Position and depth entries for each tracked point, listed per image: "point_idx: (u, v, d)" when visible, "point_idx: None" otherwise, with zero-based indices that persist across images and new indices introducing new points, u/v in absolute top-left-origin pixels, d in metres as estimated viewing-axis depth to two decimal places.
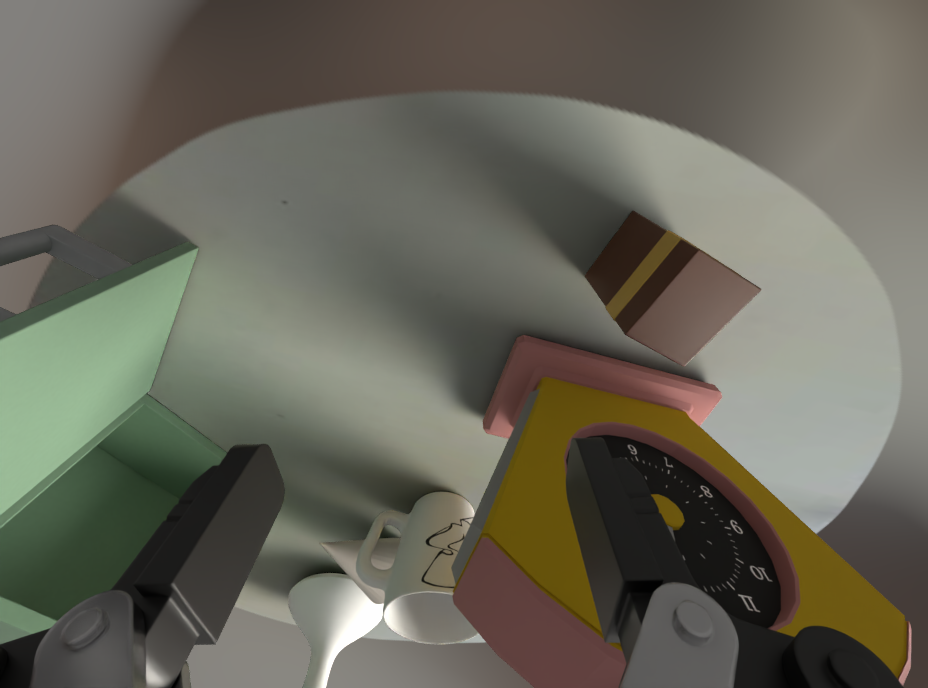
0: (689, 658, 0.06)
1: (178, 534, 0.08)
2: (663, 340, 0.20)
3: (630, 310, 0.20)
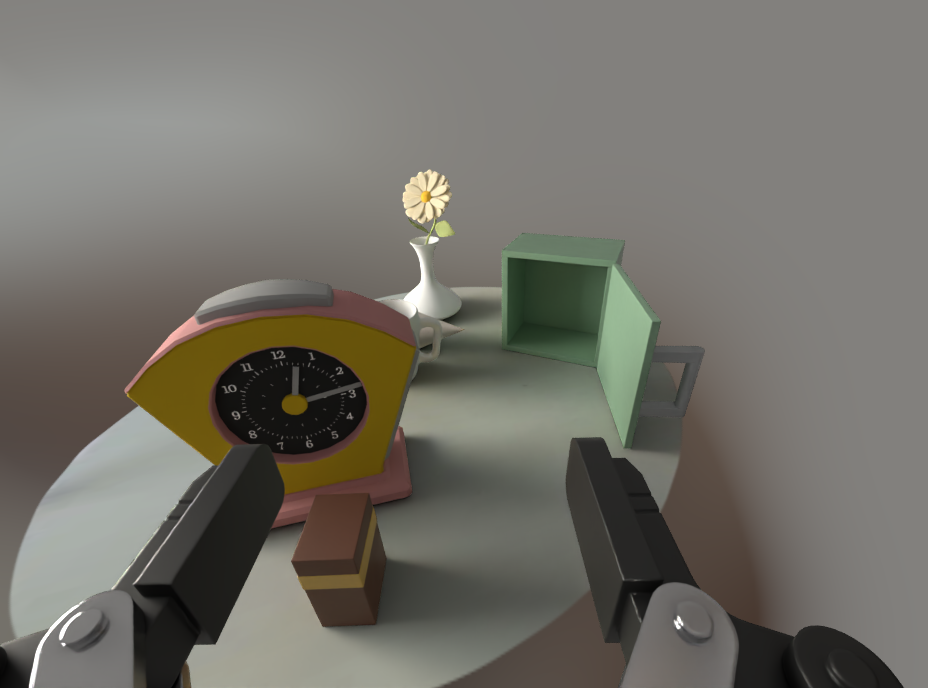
0: (689, 658, 0.06)
1: (178, 534, 0.08)
2: (341, 501, 0.28)
3: (369, 512, 0.28)
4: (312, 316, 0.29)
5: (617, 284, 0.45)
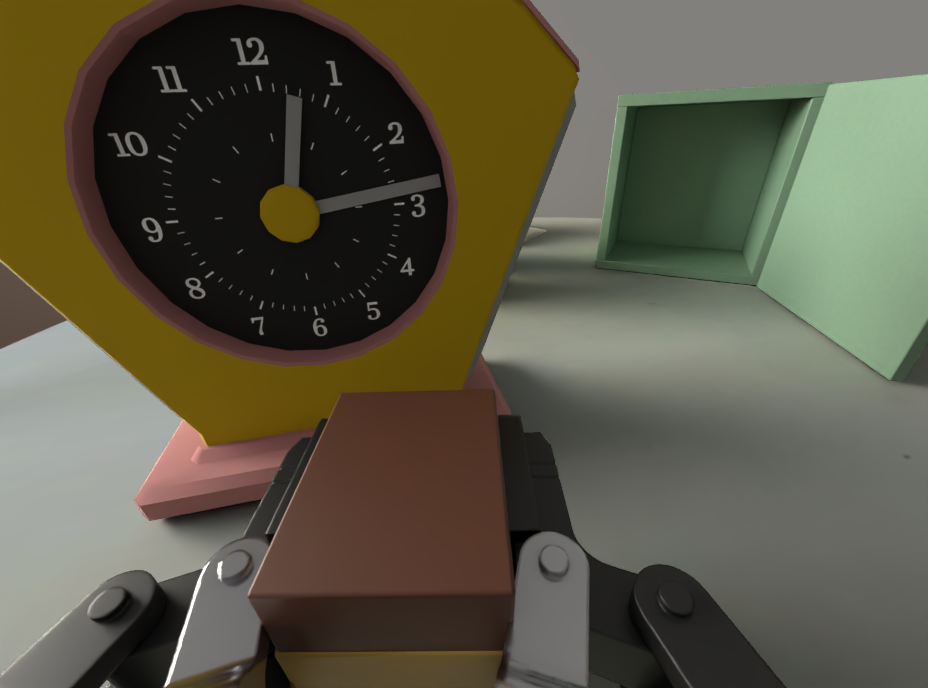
0: (542, 590, 0.06)
1: (293, 493, 0.08)
2: (418, 406, 0.09)
3: None
4: None
5: (854, 104, 0.26)
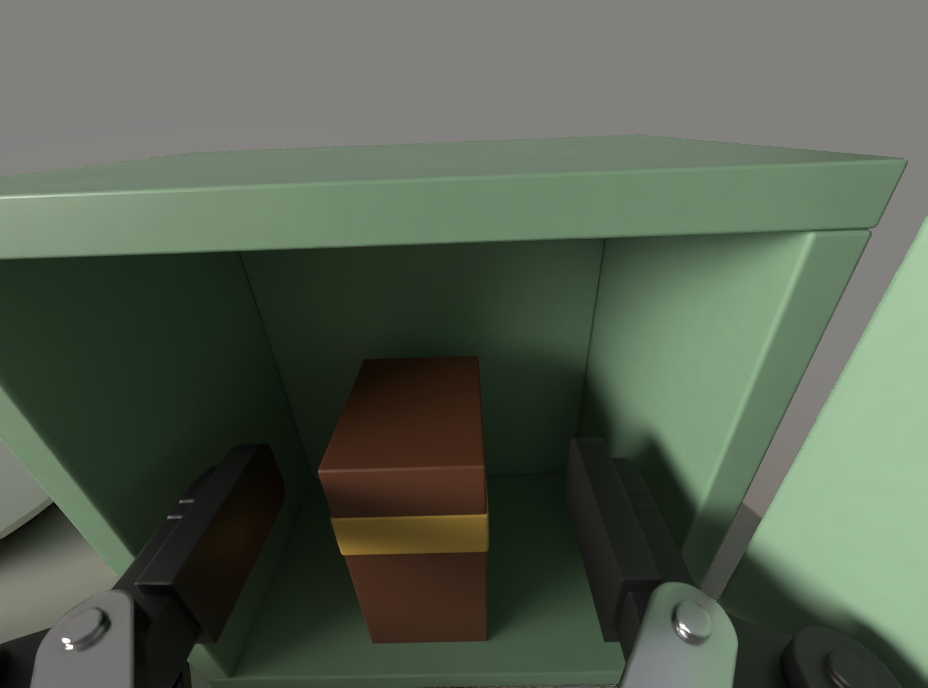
0: (688, 657, 0.06)
1: (179, 534, 0.08)
2: (422, 367, 0.13)
3: None
4: None
5: None
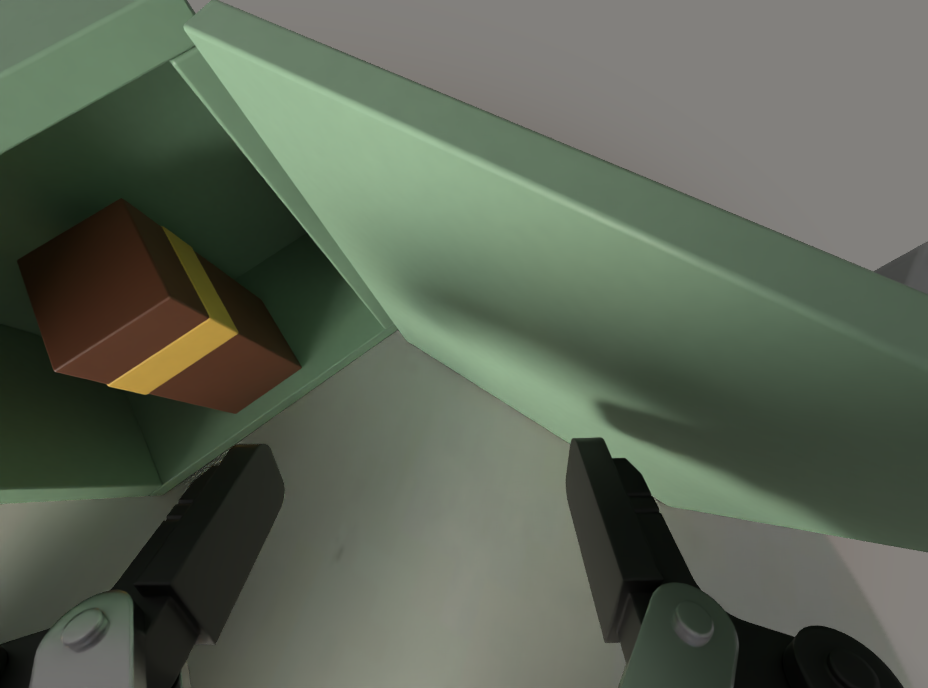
0: (689, 658, 0.06)
1: (178, 534, 0.08)
2: (77, 238, 0.13)
3: (155, 232, 0.14)
4: None
5: (357, 162, 0.07)
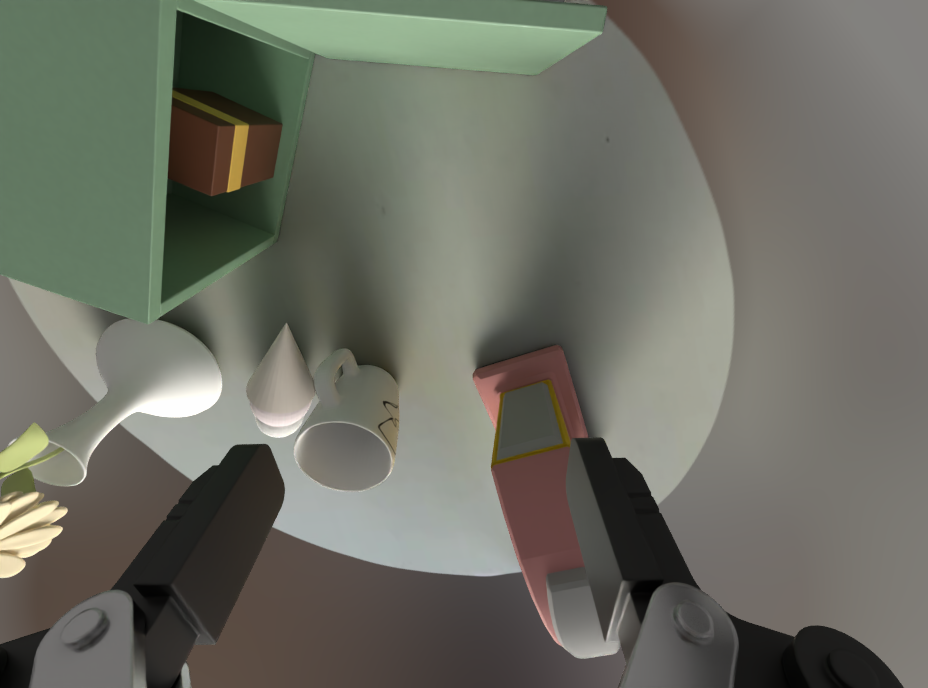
0: (689, 658, 0.06)
1: (178, 534, 0.08)
2: None
3: None
4: None
5: (295, 15, 0.15)
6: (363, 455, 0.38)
